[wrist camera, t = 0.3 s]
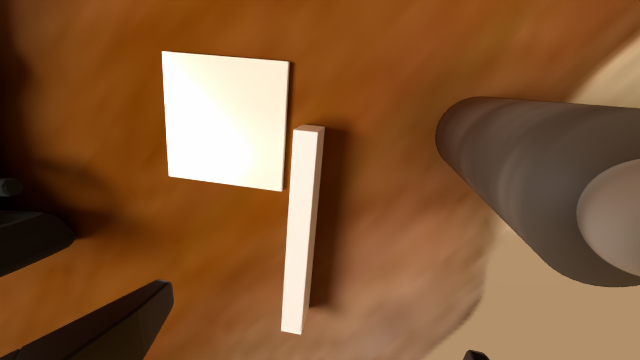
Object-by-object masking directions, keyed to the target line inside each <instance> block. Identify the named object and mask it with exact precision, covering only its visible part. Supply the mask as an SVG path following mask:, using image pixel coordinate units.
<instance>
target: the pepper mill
mask: <svg viewBox="0 0 640 360" xmlns="http://www.w3.org/2000/svg"><path fill="white" fill-rule="evenodd" d="M435 141H436V146H437V149H438V152H439V154H440V155H441V157H442V158H443V159H444V160H445V161H446V162H447V163H448V164H449V165H450V166H451V167H452V168H453V169H454V170H455V171H456V172H457V174H458V175H459V176H460V177H461V178H462V179H463V180H464V181H465V182H466V183H467V184H468V185H469V186H470V187H471V188H472V189H473V190H474V191H475V192H476V193H477V194H478V195H479V196H480V197H481V198H482V199H483V200H484V201H485V202H486V203H487V204H488V205H489V206H490V207H491V208H492V209H493V210H494V211H495V212H496V213H497V214H498V215H499V216H500V217H501V218H502V219H503V220H504V221H505V222H506V223H507V224H508V225H509V226H510V227H511V228H512V229H513V230H514V231H515V232H516V233H517V234H518V235H519V236H520V237H521V238H522V239H523V240H524V241H525V242H526V243H527V244H528V245H529V246H530V247H531V248H532V249H533V250H534V251H535V252H536V253H537V254H538V255H539V256H540V257H541V258H542V259H543V260H544V261H545V262H546V263H547V264H548V265H549V266H550V267H552V268H553V269H554V270H556V271H557V272H559V273H561V274H562V275H564V276H566V277H569V278H570V279H573V280H576V281H579V282H582V283H585V284H590V285H594V286H603V287H628V286H637V285H640V109H639V108H625V107H612V106H599V105H586V104H572V103H559V102H546V101H532V100H519V99H506V98H492V97H471V98H467V99H464V100H461V101H459V102H457V103H456V104H454V105H453V106H451V107H450V108H449V109H448V110H447V111H446V112H445V113H444V115H443V116H442V117H441V119H440V121H439V123H438V126H437V129H436V135H435Z"/></svg>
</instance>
